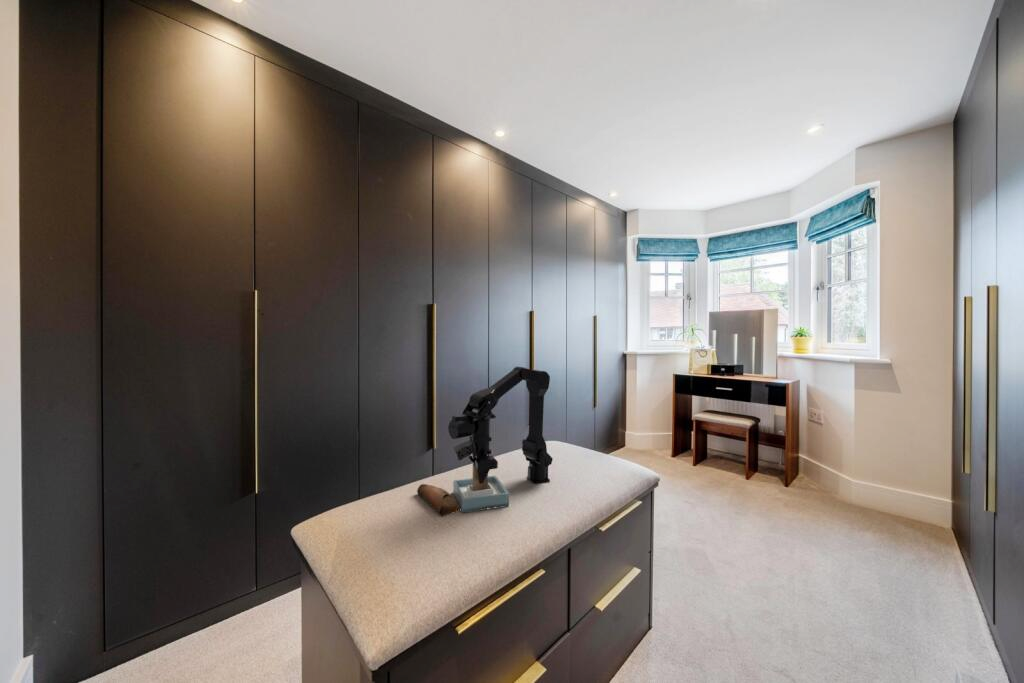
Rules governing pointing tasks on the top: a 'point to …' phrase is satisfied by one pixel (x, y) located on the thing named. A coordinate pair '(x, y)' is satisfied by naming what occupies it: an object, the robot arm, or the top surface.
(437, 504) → the sunglasses case
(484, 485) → the brown wooden block
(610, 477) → the top surface
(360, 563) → the top surface
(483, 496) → the candle dish
